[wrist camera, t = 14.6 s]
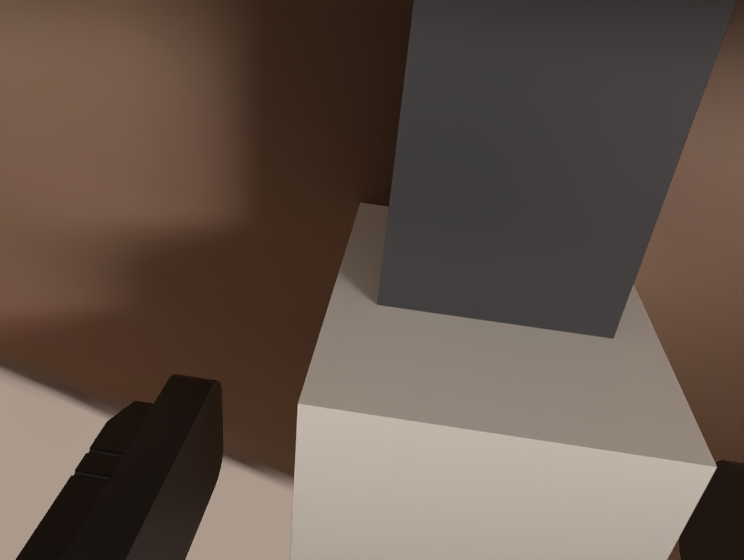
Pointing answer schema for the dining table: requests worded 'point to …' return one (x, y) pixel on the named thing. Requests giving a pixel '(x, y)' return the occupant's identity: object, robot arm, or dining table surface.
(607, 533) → the plug
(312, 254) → the dining table surface
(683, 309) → the dining table surface
